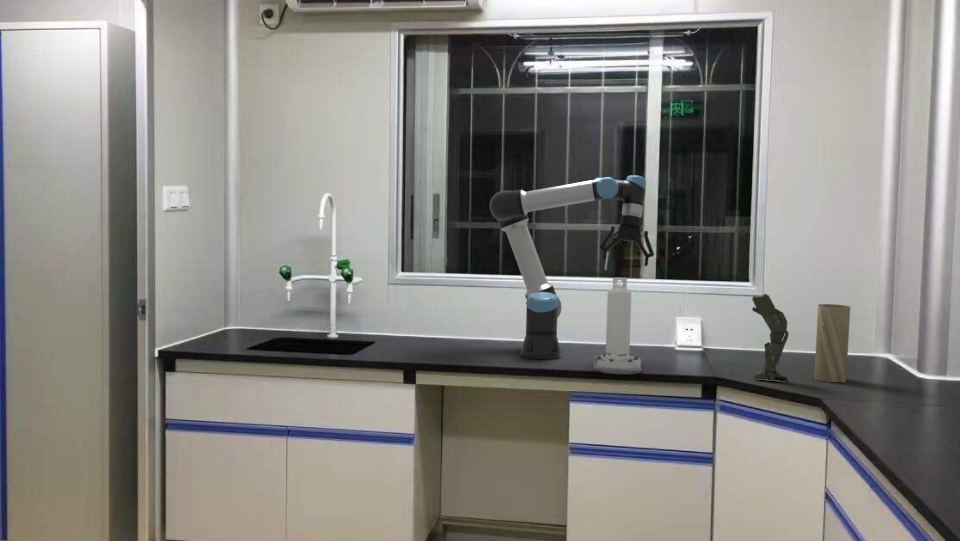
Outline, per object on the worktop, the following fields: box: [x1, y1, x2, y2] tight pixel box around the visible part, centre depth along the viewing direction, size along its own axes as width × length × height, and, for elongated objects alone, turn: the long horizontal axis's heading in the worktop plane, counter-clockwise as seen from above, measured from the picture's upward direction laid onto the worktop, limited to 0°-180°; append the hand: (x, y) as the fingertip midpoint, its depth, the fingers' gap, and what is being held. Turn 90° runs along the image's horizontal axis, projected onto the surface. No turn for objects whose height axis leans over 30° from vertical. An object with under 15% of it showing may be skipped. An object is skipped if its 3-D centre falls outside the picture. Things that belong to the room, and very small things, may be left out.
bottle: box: [605, 277, 632, 361], centre depth 289 cm, size 8×8×28 cm
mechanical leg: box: [751, 293, 790, 381], centre depth 278 cm, size 14×7×30 cm, turn 71°
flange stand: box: [593, 352, 642, 376], centre depth 291 cm, size 16×16×5 cm
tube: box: [813, 303, 851, 383], centre depth 281 cm, size 10×10×25 cm
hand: (623, 271), depth 313 cm, fingers open, 13 cm apart
